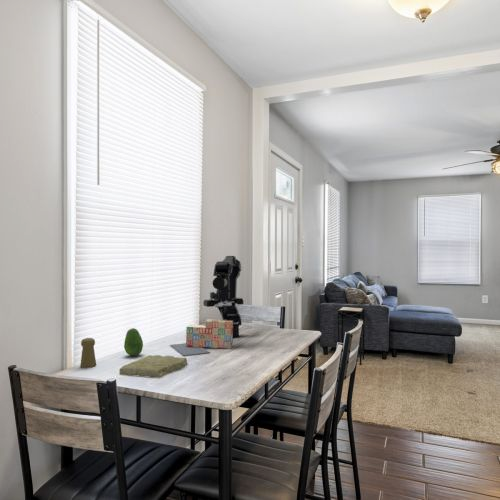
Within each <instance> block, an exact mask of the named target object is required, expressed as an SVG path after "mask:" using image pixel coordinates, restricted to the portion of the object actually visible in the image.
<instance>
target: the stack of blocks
mask: <svg viewBox="0 0 500 500" xmlns="http://www.w3.org/2000/svg"><path fill="white" fill-rule="evenodd" d="M185 327H186V329H185V330H186V334H185V335H186V337H185V340H186V341H185V343H186V346H193V347H202V348H213V349H214V348H216V349H217V348H218V349H232V347H233V320H223V319H211V318H210V319H209V318H208V319H206V320H205V325H202V324H189V325H187V326H185Z"/></svg>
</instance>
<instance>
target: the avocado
mask: <svg viewBox="0 0 500 500" xmlns="http://www.w3.org/2000/svg"><path fill="white" fill-rule="evenodd" d="M123 347H124V351H125V352H126V354H128V355H129V356H133V357H134V356H135V357H136V356H139V355H140V354H141V353H142V352H143V347H144V342H143V339H142V336H141V334H140V332H139V330H137V329H136V328H134V327H133V328H130V329H128V330H127V332H126V333H125V338H124V345H123Z"/></svg>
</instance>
